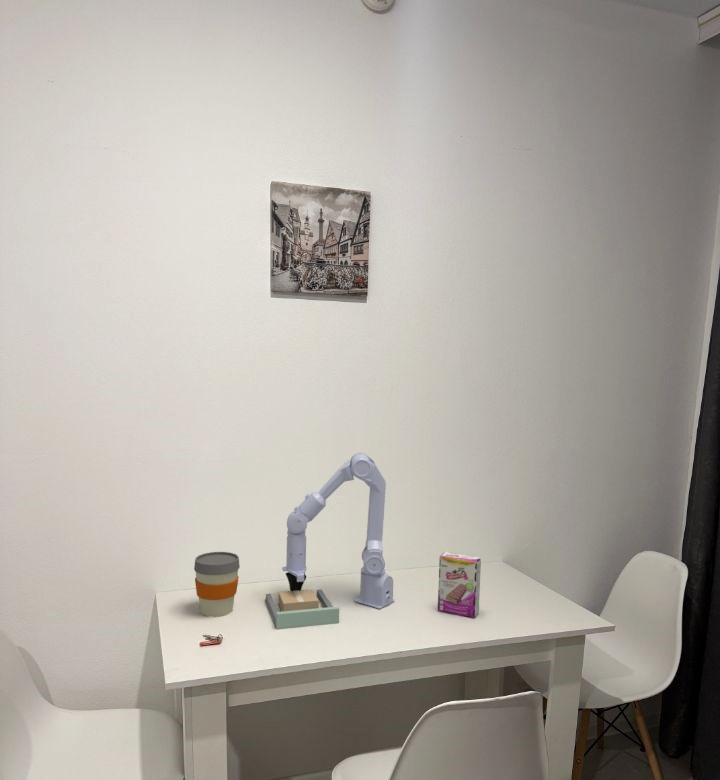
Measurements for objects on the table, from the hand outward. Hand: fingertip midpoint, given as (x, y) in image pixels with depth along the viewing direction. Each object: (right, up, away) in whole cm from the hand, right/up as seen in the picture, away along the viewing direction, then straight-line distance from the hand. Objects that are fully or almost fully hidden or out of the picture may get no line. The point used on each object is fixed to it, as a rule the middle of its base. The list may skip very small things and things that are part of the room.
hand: (295, 597), depth 189 cm
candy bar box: (+47, -3, -6) cm, 48 cm away
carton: (+1, -2, -6) cm, 6 cm away
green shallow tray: (+2, -1, -8) cm, 8 cm away
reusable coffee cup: (-22, -1, -8) cm, 23 cm away
